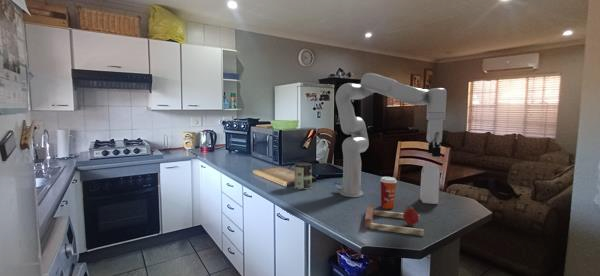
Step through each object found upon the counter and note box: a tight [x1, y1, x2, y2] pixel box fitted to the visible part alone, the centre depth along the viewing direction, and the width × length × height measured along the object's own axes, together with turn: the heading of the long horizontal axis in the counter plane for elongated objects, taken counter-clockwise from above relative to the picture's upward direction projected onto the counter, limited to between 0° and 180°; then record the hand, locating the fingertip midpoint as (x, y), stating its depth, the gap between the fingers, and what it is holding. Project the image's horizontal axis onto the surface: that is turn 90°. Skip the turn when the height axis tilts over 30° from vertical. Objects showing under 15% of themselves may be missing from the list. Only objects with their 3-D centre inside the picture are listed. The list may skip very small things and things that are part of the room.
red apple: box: [402, 206, 420, 227], centre depth 115 cm, size 6×6×8 cm
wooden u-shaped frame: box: [364, 204, 425, 236], centre depth 117 cm, size 21×16×4 cm
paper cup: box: [380, 176, 398, 210], centre depth 136 cm, size 8×8×14 cm
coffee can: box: [293, 162, 313, 190], centre depth 168 cm, size 10×10×14 cm
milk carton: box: [419, 163, 441, 205], centre depth 144 cm, size 7×7×19 cm
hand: (433, 154), depth 128 cm, fingers open, 9 cm apart
